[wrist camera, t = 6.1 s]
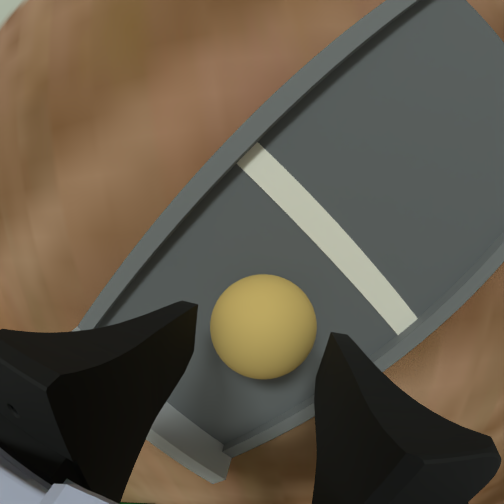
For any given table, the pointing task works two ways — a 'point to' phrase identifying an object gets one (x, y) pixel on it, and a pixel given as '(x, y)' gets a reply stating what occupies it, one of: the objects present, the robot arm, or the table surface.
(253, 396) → the lane mat
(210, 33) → the table surface
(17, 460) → the robot arm
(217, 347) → the ball
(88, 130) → the table surface
